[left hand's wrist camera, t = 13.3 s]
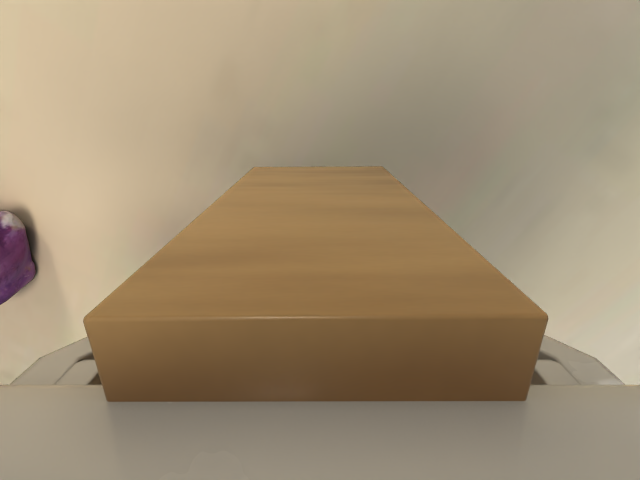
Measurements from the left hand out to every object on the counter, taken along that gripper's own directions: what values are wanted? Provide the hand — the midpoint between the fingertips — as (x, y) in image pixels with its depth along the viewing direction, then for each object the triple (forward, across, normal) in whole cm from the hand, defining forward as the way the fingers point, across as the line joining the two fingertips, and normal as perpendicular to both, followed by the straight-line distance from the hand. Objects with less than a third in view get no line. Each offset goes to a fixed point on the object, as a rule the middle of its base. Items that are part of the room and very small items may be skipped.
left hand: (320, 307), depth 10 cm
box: (+7, 0, -10) cm, 12 cm away
